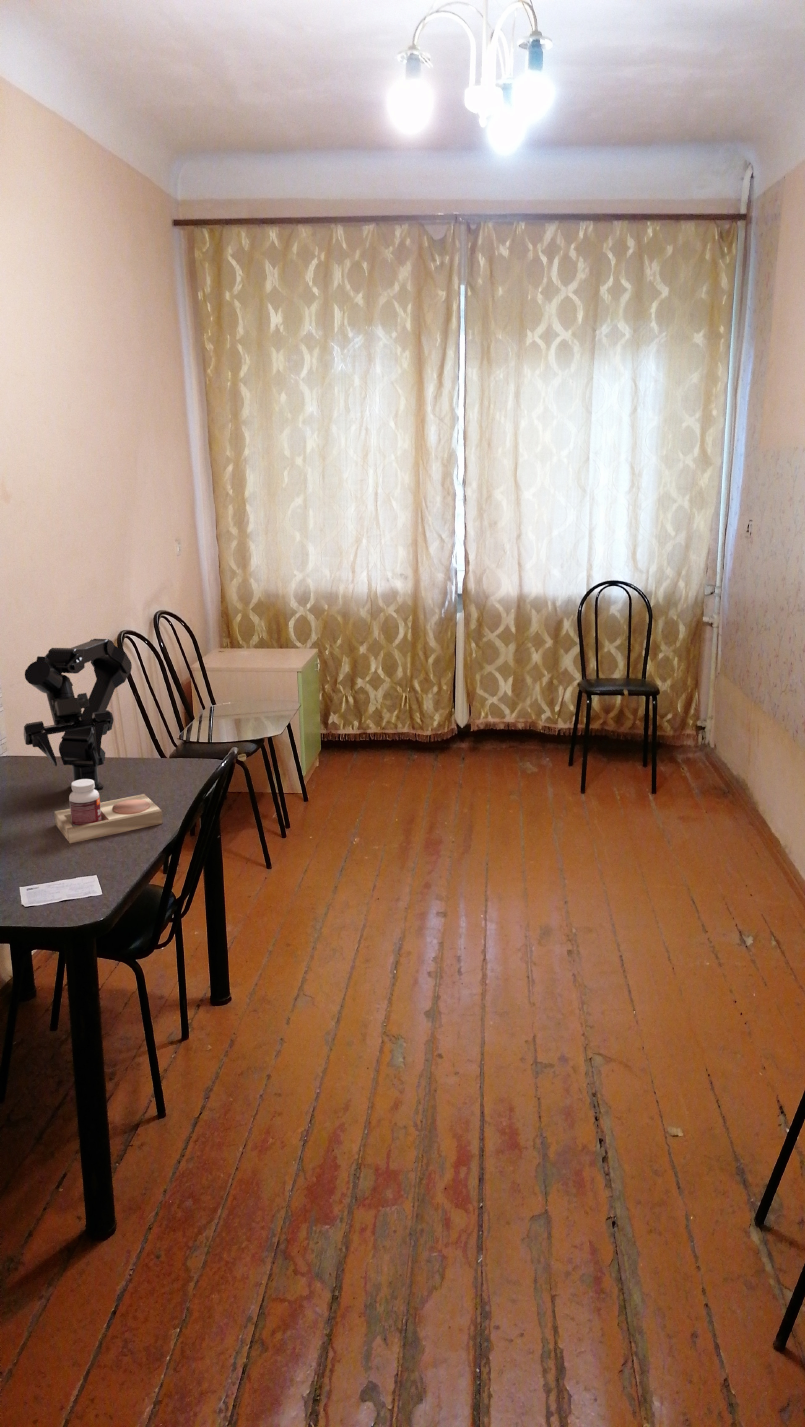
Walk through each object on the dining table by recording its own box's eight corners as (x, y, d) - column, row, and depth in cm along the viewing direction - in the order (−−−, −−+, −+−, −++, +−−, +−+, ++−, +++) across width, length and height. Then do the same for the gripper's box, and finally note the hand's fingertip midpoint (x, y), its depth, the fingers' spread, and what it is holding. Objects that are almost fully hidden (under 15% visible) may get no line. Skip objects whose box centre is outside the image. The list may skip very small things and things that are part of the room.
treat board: (55, 824, 210) (54, 810, 209) (145, 806, 220) (144, 792, 219) (69, 843, 200) (68, 828, 199) (162, 823, 211) (161, 809, 210)
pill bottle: (106, 832, 206) (101, 784, 203) (77, 838, 203) (72, 789, 200) (97, 822, 211) (93, 775, 208) (69, 828, 208) (64, 781, 205)
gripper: (18, 689, 204) (34, 753, 199) (106, 675, 213) (124, 737, 208) (17, 712, 214) (32, 775, 208) (102, 699, 222) (119, 759, 217)
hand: (77, 761), depth 210 cm, fingers open, 9 cm apart
